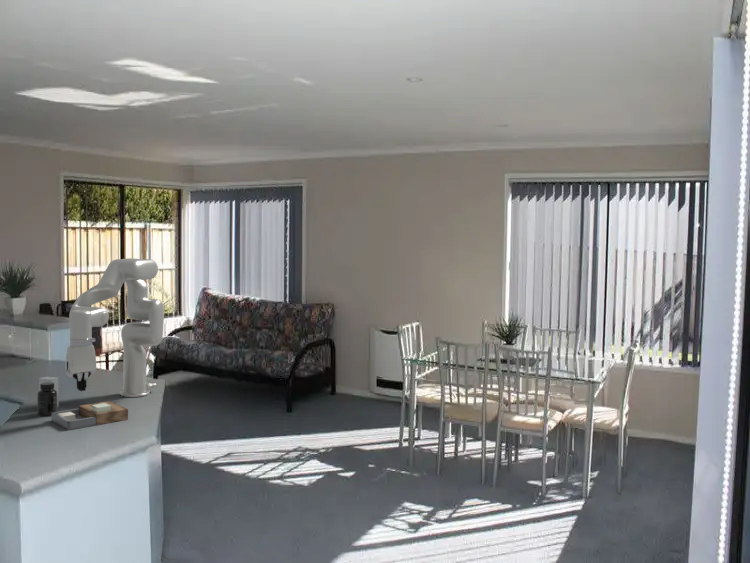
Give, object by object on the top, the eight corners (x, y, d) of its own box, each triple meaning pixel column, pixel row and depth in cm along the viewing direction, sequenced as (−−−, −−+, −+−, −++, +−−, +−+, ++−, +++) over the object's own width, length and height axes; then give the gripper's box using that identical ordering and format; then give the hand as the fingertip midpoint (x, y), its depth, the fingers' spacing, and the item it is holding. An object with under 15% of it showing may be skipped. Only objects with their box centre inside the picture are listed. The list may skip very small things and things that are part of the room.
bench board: (109, 410, 260) (109, 400, 260) (127, 419, 249) (128, 409, 249) (78, 415, 251) (78, 405, 251) (96, 425, 240) (96, 414, 240)
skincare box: (58, 406, 264) (58, 377, 263) (50, 409, 260) (51, 379, 259) (46, 405, 265) (46, 376, 265) (38, 407, 261) (38, 378, 261)
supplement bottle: (52, 410, 257) (52, 380, 257) (60, 414, 253) (60, 383, 252) (34, 414, 252) (34, 383, 251) (42, 417, 248) (42, 386, 247)
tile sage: (105, 408, 249) (105, 403, 249) (110, 410, 245) (110, 405, 245) (91, 410, 245) (91, 405, 245) (97, 413, 242) (97, 407, 242)
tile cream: (56, 413, 244) (56, 419, 244) (61, 416, 241) (61, 422, 241) (70, 411, 248) (70, 416, 248) (75, 414, 244) (75, 419, 244)
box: (78, 416, 251) (78, 408, 251) (95, 425, 240) (95, 417, 240) (51, 420, 244) (51, 412, 244) (68, 430, 233) (68, 421, 233)
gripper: (96, 338, 254) (97, 385, 256) (56, 343, 244) (57, 391, 245) (105, 341, 249) (105, 389, 251) (64, 346, 238) (65, 395, 240)
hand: (81, 390), depth 248 cm, fingers closed
